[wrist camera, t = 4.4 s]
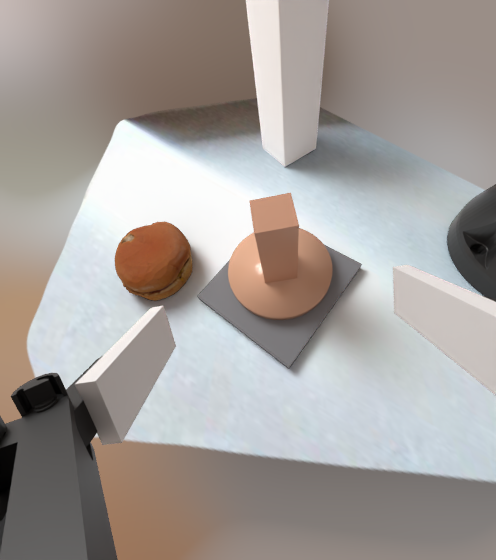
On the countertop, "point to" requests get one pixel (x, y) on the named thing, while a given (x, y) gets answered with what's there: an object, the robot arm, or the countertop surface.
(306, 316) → the mat
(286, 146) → the milk
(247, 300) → the lid
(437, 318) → the robot arm
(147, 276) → the burger
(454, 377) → the countertop surface
